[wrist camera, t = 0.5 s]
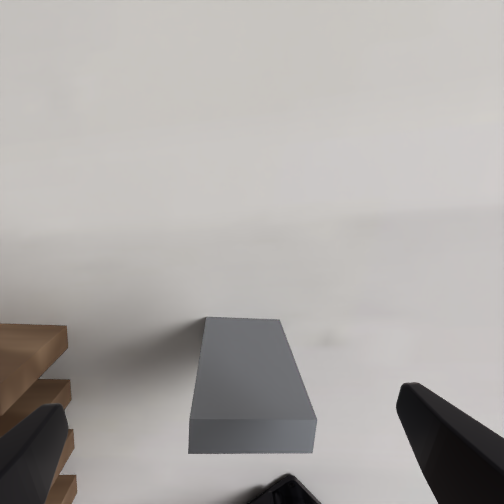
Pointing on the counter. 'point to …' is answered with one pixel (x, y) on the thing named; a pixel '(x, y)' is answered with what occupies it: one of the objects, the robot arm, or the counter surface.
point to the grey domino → (249, 392)
